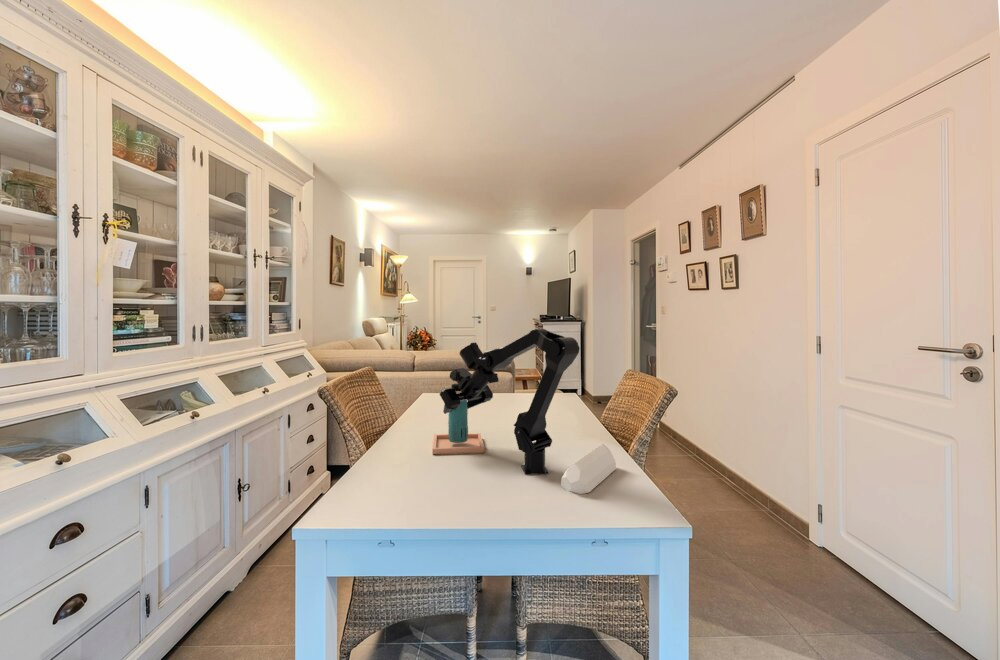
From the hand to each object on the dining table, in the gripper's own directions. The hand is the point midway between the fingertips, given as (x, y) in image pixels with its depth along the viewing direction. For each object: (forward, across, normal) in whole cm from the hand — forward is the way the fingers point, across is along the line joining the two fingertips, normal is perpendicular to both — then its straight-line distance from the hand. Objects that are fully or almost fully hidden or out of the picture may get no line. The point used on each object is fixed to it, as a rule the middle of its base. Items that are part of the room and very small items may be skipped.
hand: (455, 410), depth 145 cm
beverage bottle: (+7, 0, +9) cm, 11 cm away
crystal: (-25, -6, +42) cm, 49 cm away
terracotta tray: (+7, 0, +9) cm, 12 cm away
